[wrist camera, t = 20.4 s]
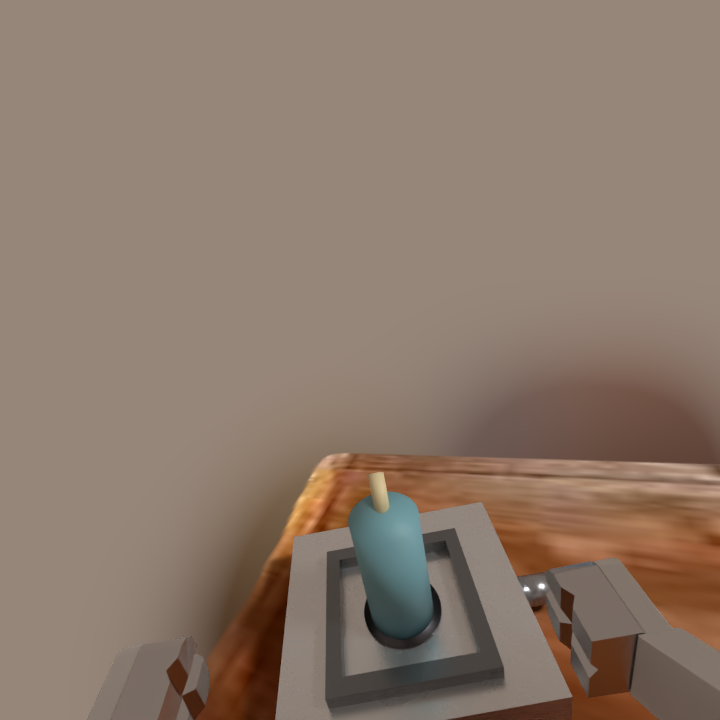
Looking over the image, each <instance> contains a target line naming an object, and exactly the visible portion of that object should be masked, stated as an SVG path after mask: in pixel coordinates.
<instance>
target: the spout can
mask: <svg viewBox="0 0 720 720" xmlns="http://www.w3.org/2000/svg"><path fill="white" fill-rule="evenodd" d="M368 476H369V482H370V488H371V494H372V495H370V496H368V497H366V498H364V499H362V500H361V501H360V502H358V503H357V504H356V505H355V507H354V508H353V509H352V511H351V513H350V515H349V520H348V524H349V529H350V533H351V537H352V541H353V545H354V549H355V553H356V557H357V561H358V565H359V569H360V573H361V577H362V581H363V585H364V589H365V593H366V597H367V601H368V605H369V609H370V612H371V616H372V620H373V622H374V624H375V626H376V628H377V629H378V630H379V631H380V632H381V633H382V634H384V635H385V636H387V637H390V638H393V639H398V640H404V639H410V638H413V637H415V636H417V635H419V634H420V633H422V632H423V631H424V630H425V629H426V628H427V627H428V625H429V624H430V622H431V619H432V617H433V611H434V606H433V600H432V593H431V587H430V581H429V575H428V568H427V562H426V556H425V550H424V544H423V537H422V531H421V525H420V519H419V512H418V509H417V506H416V504H415V503H414V502H413V501H412V500H411V499H410V498H408V497H407V496H405V495H403V494H400V493H396V492H387V489H386V483H385V478H384V473H383V472H378V473H373V474H369V475H368Z"/></svg>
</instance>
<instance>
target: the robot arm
mask: <svg viewBox="0 0 720 720" xmlns="http://www.w3.org/2000/svg"><path fill="white" fill-rule="evenodd" d="M546 582H547V584H548V586H549V588H550V591H549V592H548V593H547V594H546V604H547V609H548V613H549V617H550V620H551V623H552V625H553V628H554V630H555V632H556V634H557V636H558V638H559V640H560V642H561V643H563V644H564V645H565V646H567V647H568V648H569V649H571V665H572V667H573V669H574V671H575V673H576V675H577V677H578V679H579V681H580V683H581V685H582V687H583V688H584V690H585V692H586V694H587V696H588V698H590V697H597V696H604V695H611V694H618V693H624V692H630V694H631V695H632V696H633V697H634V698H635V699H636V700H637V701H638V702H640V703H641V704H642V705H643V706H644V707H645V708H646V709H648V710H649V711H650V712H651V713H652V714H653V715H654V716H656V717H657V718H658V719H659V720H720V652H719V651H718V650H716V649H714V648H713V647H711V646H709V645H708V644H706V643H704V642H703V641H701V640H699V639H698V638H696V637H695V636H693V635H691V634H690V633H688V632H686V631H685V630H683V629H681V628H673V629H672V627H671V626H670V625H669V623H668V622H667V621H666V619H665V618H664V617H663V616H662V614H661V613H660V612H659V610H658V609H657V608H656V606H655V605H654V604H653V603H652V601H651V600H650V599H649V597H648V596H647V595H646V593H645V592H644V591H643V590H642V588H641V587H640V586H639V584H638V583H637V582H636V580H635V579H634V578H633V577H632V575H631V574H630V573H629V571H628V570H627V569H626V567H625V566H624V565H623V563H622V562H621V561H620V560H618V559H617V558H608V559H603V560H599V561H594V562H590V561H589V562H584V563H579V564H574V565H570V566H565V567H560V568H555V569H550V570H548V571H547V573H546ZM196 648H197V644H196V642H195V641H194V639H193V637H192V636H191V637H185V638H179V639H173V640H167V641H161V642H155V643H149V644H142V645H137V646H131V647H125V648H123V649H122V650H121V651H120V652H119V653H118V655H117V656H116V657H115V659H114V662H113V664H112V666H111V668H110V671H109V673H108V675H107V677H106V679H105V681H104V684H103V686H102V688H101V691H100V693H99V695H98V697H97V699H96V701H95V703H94V706H93V708H92V710H91V712H90V715H89V717H88V719H87V720H195V719H196V718H197V716H198V715H199V714H200V712H201V711H202V710H203V708H204V707H205V705H206V700H207V696H208V691H209V670H208V665H207V663H206V661H205V659H204V658H203V657H202V656H199V655H197V654H196V653H195V652H196Z"/></svg>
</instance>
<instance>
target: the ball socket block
mask: <svg viewBox="0 0 720 720" xmlns="http://www.w3.org/2000/svg"><path fill="white" fill-rule="evenodd" d="M419 519H420V525H421V531H422V537H423V544H424V550H425V556H426V562H427V568H428V575H429V581H430V587H431V593H432V600H433V606H434V611H433V617H432V619H431V622H430V624H429V625H428V627H427V628H426V629H425V630H424V631H423V632H422V633H420V634H419V635H417V636H415V637H413V638H410V639H404V640H398V639H393V638H390V637H387V636H385V635H384V634H382V633H381V632H380V631H379V630H378V629H377V628H376V626H375V624H374V622H373V620H372V616H371V612H370V609H369V605H368V601H367V597H366V593H365V589H364V585H363V581H362V577H361V573H360V569H359V565H358V561H357V557H356V553H355V549H354V545H353V541H352V537H351V533H350V529H349V527H345V528H340V529H335V530H329V531H324V532H319V533H313V534H308V535H303V536H297V537H294V542H293V552H292V562H291V571H290V581H289V591H288V601H287V610H286V620H285V630H284V639H283V649H282V659H281V668H280V678H279V688H278V698H277V707H276V717H275V720H572V698H573V697H572V695H571V693H570V690H569V688H568V686H567V684H566V682H565V680H564V678H563V675H562V673H561V671H560V669H559V667H558V665H557V663H556V660H555V658H554V656H553V654H552V652H551V650H550V647H549V645H548V643H547V641H546V639H545V637H544V635H543V632H542V630H541V628H540V626H539V624H538V622H537V620H536V617H535V615H534V613H533V611H532V609H531V607H535V606H540V605H546V594H547V593H548V592H549V591H550V588H549V586H548V584H547V582H546V573H547V571H546V572H540V573H535V574H529V575H524V576H518V577H516V574H515V572H514V570H513V568H512V566H511V564H510V562H509V559H508V557H507V555H506V553H505V551H504V549H503V547H502V544H501V542H500V540H499V538H498V536H497V534H496V531H495V529H494V527H493V525H492V523H491V521H490V519H489V516H488V514H487V512H486V510H485V508H484V506H483V504H482V502H479V503H474V504H469V505H463V506H458V507H453V508H447V509H442V510H437V511H431V512H426V513H420V514H419Z"/></svg>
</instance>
